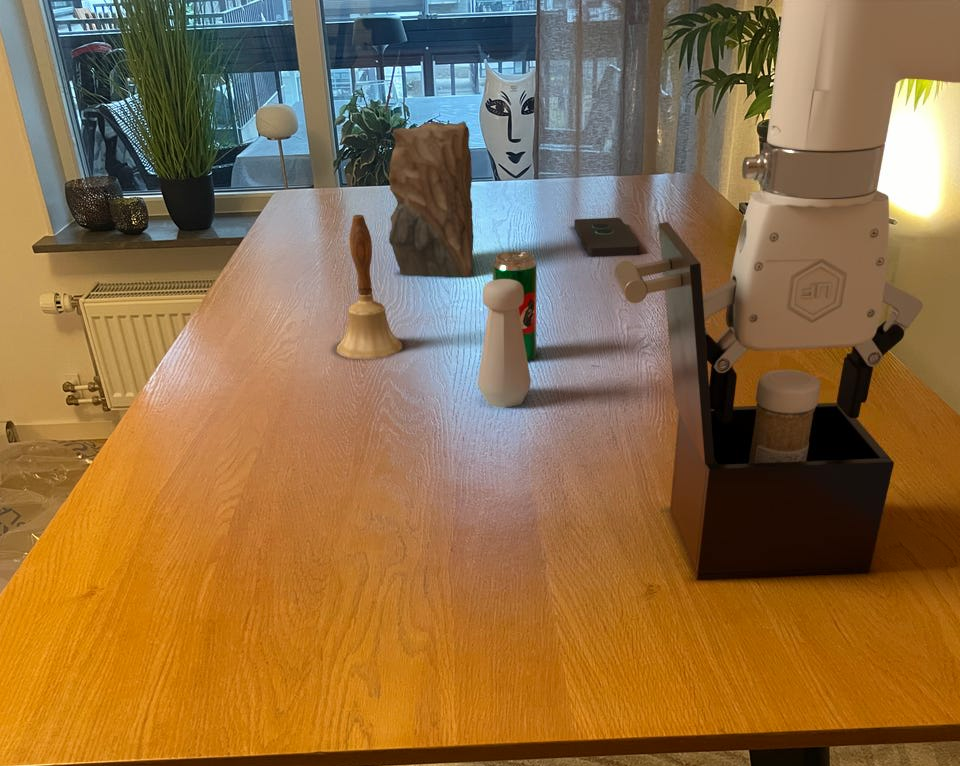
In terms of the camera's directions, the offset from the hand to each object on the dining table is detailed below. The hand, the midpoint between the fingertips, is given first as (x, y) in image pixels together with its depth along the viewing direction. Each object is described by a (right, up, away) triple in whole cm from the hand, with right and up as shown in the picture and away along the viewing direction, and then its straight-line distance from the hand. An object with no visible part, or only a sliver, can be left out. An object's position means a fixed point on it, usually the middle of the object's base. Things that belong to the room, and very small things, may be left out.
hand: (784, 414), depth 77 cm
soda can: (-19, +17, +45) cm, 52 cm away
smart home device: (-3, +48, +89) cm, 102 cm away
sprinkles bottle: (0, -9, +6) cm, 11 cm away
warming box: (0, -9, +7) cm, 11 cm away
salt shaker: (-21, +9, +34) cm, 40 cm away
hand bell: (-37, +19, +49) cm, 64 cm away
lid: (-8, +5, -4) cm, 10 cm away
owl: (-29, +39, +78) cm, 92 cm away
